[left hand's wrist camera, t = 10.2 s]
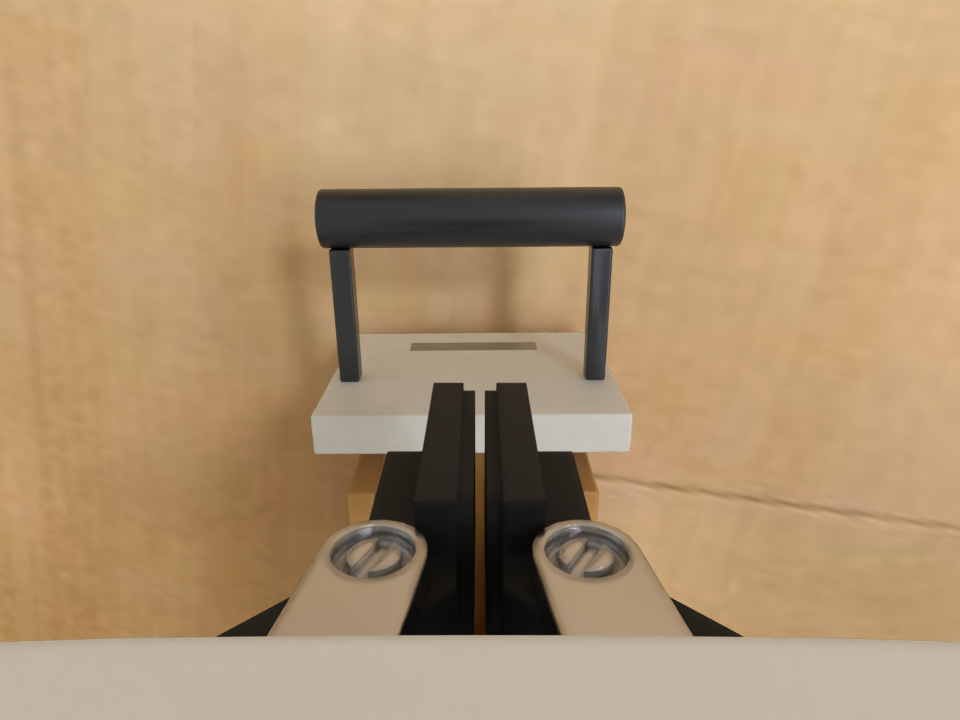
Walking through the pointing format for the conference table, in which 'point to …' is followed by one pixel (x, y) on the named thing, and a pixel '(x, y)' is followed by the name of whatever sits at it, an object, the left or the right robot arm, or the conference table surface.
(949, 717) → the left robot arm
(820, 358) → the conference table surface
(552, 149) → the conference table surface
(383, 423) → the drawer
